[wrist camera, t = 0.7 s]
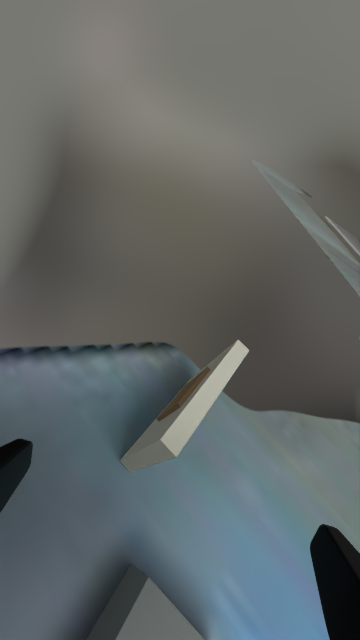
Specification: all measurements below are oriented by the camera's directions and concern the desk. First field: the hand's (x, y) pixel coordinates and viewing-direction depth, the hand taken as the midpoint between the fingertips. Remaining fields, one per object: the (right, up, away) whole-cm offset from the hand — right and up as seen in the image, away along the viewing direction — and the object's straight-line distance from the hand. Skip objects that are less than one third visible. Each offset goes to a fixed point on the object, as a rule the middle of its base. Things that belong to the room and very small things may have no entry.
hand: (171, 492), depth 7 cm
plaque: (-1, -4, +15) cm, 16 cm away
